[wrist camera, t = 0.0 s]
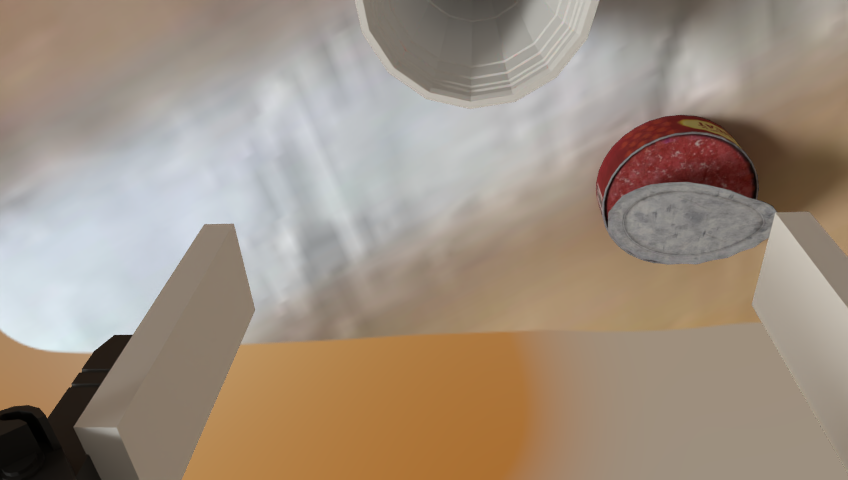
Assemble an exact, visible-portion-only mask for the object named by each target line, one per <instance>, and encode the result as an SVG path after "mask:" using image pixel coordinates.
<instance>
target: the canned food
mask: <svg viewBox="0 0 848 480" xmlns="http://www.w3.org/2000/svg"><path fill="white" fill-rule="evenodd" d="M758 190H759V185H758V175H757V172H756V170H755V167H754V164H753V162H752V161H751V159H750V158H749V157H748V155H747V154H746V152H745V151H743V150H742V148H741V147H740V146H739V145H738V143H737V142H736V141H735V140H734V138H733V137H732V136H731V135H730V134H729V133H728V132H727V131H726V130H725V129H724V128H722V127H721V126H720V125H718V124H716V123H714V122H712V121H710V120H707V119H704V118H700V117H696V116H687V115H676V116H666V117H662V118H658V119H655V120H651V121H649V122H646V123H644V124H642V125H640V126H638V127H636V128H634V129H633V130H632V131H630V132H629V133H627V134H626V135H624V136H623V137H622V138H621V139H620V140H619V141H618V142H617V143H616V144H615V145H614V146H613V147H612V148H611V150H610V151H609V153H608V154H607V155H606V157H605V158H604V160H603V163H602V165H601V167H600V169H599V173H598V177H597V182H596V195H597V200H598V204H599V207H600V210H601V213H602V217H603V220H604V224H605V227H606V229H607V231H608V233H609V235H610V237H611V238H612V240H613V241H614V242H615V243H616V244H617V245H618V246H619V247H620V248H621V249H623V250H624V251H625V252H627V253H628V254H630V255H632V256H634V257H636V258H638V259H641V260H644V261H648V262H652V263H660V264H700V263H704V262H707V261H711V260H717V259H723V258H728V257H730V256H732V255H734V254H737V253H739V252H741V251H744V250H747V249H750V248H753V247H755V246H757V245H758V244H759V243H761V242H762V241H763V240H765V239H767V238H769V235H770V231H771V228H772V224H773V220H774V216H775V212H777V211H776V210H775V209H774V207H773V206H771V205H770V204H768V203H766V202H763V201H759V200H757V197H758Z"/></svg>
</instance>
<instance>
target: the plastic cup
mask: <svg viewBox="0 0 848 480" xmlns="http://www.w3.org/2000/svg"><path fill="white" fill-rule="evenodd" d="M599 1H600V0H355V3H356V8H357V12H358V17H359V21H360V26H361V31H362V34H363V35H364V37H365V38H366V40H367V41H368V43H369V44H370V46H371V47H372V49H373V50H374V52H375V53H376V55H377V56H378V58H379V59H380V61H381V62H382V64H383V65H384V67H385V68H386V70H387V71H388V73H390V74H391V75H392V76H394V77H395V78H397V79H398V80H400V81H401V82H403V83H404V84H405V85H407V86H408V87H410V88H411V89H413V90H414V91H416V92H417V93H418V94H420V95H421V96H423V97H424V98H426V99H429V100H433V101H437V102H442V103H446V104H451V105H455V106H460V107H464V108H468V109H473V108H479V107H485V106H492V105H498V104H504V103H510V102H516V101H517V100H519V99H521V98H522V97H524V96H526V95H528V94H529V93H531V92H533V91H534V90H536V89H538V88H539V87H541V86H543V85H544V84H546V83H548V82H550V81H551V80H553V79H555V78H556V77H557V76H558V75H559V73H560V72H561V71H562V70H563V68H564V67H565V66H566V65H567V63H568V62H569V61H570V60H571V58H572V57H573V56H574V55H575V53H576V52H577V51H578V50H579V48H580V47H581V46H582V45H583V43H584V42H585V41H586V40H587V38H588V35H589V32H590V29H591V25H592V22H593V19H594V16H595V13H596V10H597V7H598V4H599Z"/></svg>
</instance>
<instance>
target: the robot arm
mask: <svg viewBox="0 0 848 480" xmlns="http://www.w3.org/2000/svg"><path fill="white" fill-rule="evenodd" d="M752 306H753V308H754V310H755V311H756V313H757V315H758V317H759V318H760V320H761V322H762V324H763V325H764V327H765V329H766V331H767V332H768V334H769V336H770V338H771V340H772V341H773V343H774V345H775V346H776V348H777V350H778V351H779V354H780V355H781V357H782V359H783V361H784V363H785V364H786V366H787V368H788V370H789V371H790V373H791V375H792V377H793V378H794V380H795V381H796V384H797V385H798V387H799V389H800V391H801V393H802V394H803V396H804V398H805V400H806V401H807V403H808V405H809V407H810V408H811V410H812V412H813V414H814V415H815V417H816V419H817V421H818V422H819V424H820V426H821V428H822V430H823V431H824V433H825V435H826V437H827V438H828V440H829V442H830V444H831V445H832V447H833V449H834V451H835V452H836V454H837V456H838V458H839V460H840V461H841V463H842V465H843V467H844V468H845V470H846V472H847V474H848V257H847V256H846V255H845V253H844V252H843V251H842V250H841V249H840V248H839V246H838V245H837V244H836V243H835V242H834V240H833V239H832V238H831V237H830V236H829V234H828V233H827V232H826V231H825V230H824V229H823V227H822V226H821V225H820V224H819V223H818V221H817V220H816V219H815V218H814V217H813V215H812V214H811V213H810V212H775V216H774V220H773V224H772V228H771V231H770V235H769V239H768V243H767V247H766V251H765V255H764V259H763V263H762V267H761V271H760V275H759V279H758V282H757V286H756V290H755V294H754V298H753V302H752ZM254 311H255V308H254V303H253V299H252V295H251V291H250V287H249V283H248V279H247V275H246V271H245V267H244V263H243V259H242V255H241V251H240V247H239V243H238V239H237V235H236V231H235V227H234V224H204V226H203V227H202V229H201V230H200V232H199V233H198V235H197V237H196V238H195V240H194V241H193V243H192V244H191V246H190V247H189V249H188V250H187V252H186V254H185V255H184V257H183V258H182V260H181V261H180V263H179V264H178V266H177V267H176V269H175V271H174V272H173V274H172V275H171V277H170V278H169V280H168V281H167V283H166V285H165V286H164V288H163V289H162V291H161V292H160V294H159V295H158V297H157V298H156V300H155V302H154V303H153V305H152V306H151V308H150V309H149V311H148V312H147V314H146V316H145V317H144V319H143V320H142V322H141V323H140V325H139V326H138V328H137V329H136V331H135V333H134V334H133V335H114V336H113V337H111V338H110V339H109V340H108V341H106V342H105V343H104V344H103V345H101V346H100V347H99V348H98V349H96V350H95V351H94V352H93V354H92V356H91V357H90V358H89V360H88V361H87V362H86V364H85V365H84V367H83V368H82V373H79V374H78V375H77V377H76V378H75V380H74V381H73V383H72V387H71V388H68V390H67V391H66V393H65V394H64V395H63V397H62V398H61V400H60V401H59V403H58V404H57V405H56V407H55V409H54V410H53V411H52V413H51V414H50V416H49V417H48V418H47V417H46V415H45V414H44V413H43V412H42V411H41V410H40V408H36V407H33V406H29V405H26V406H14V407H11V408H8V409H4V410H1V411H0V480H182V477H183V475H184V473H185V470H186V468H187V466H188V464H189V461H190V459H191V457H192V454H193V452H194V450H195V447H196V445H197V443H198V440H199V438H200V436H201V434H202V431H203V429H204V427H205V424H206V422H207V420H208V417H209V415H210V413H211V410H212V408H213V406H214V403H215V401H216V399H217V397H218V394H219V392H220V390H221V387H222V385H223V383H224V380H225V378H226V376H227V374H228V371H229V369H230V367H231V364H232V362H233V360H234V357H235V355H236V353H237V350H238V348H239V346H240V344H241V341H242V339H243V337H244V334H245V332H246V330H247V327H248V325H249V323H250V320H251V318H252V316H253V314H254Z"/></svg>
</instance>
